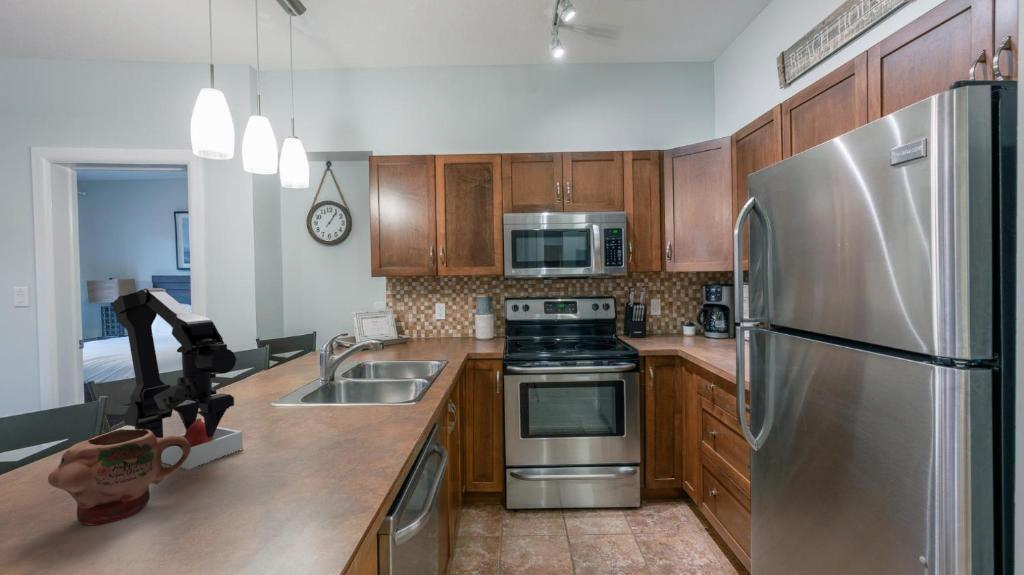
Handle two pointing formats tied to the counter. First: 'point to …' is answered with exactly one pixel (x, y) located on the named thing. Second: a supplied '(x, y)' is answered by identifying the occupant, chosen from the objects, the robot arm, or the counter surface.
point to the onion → (197, 433)
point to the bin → (206, 449)
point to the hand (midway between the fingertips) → (200, 434)
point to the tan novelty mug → (115, 473)
